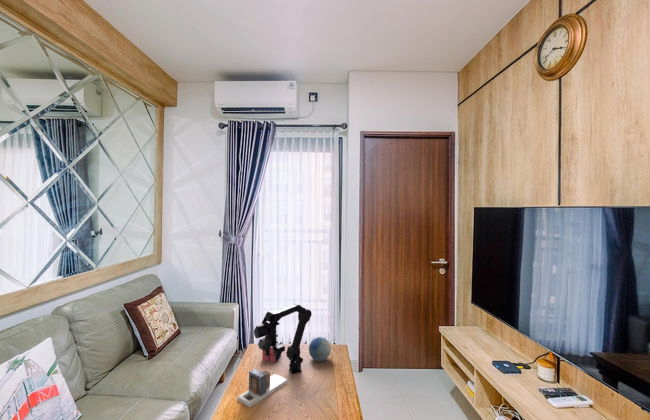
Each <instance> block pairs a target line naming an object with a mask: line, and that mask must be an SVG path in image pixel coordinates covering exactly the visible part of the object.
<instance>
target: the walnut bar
mask: <svg viewBox="0 0 650 420" xmlns="http://www.w3.org/2000/svg"><path fill="white" fill-rule="evenodd" d="M262 372H263V373H265V374H266V389H267V388H268V387H270V377H271V372H269V371H267V370H263V371H262ZM252 393H254V394H256V395H257V394H259V379H258V378H256V377H252Z"/></svg>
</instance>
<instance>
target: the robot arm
mask: <svg viewBox="0 0 650 420" xmlns="http://www.w3.org/2000/svg"><path fill="white" fill-rule="evenodd" d="M296 312H297V317H298V319H297V320H298V323H297V327H296V329H295V333H294V337H293V340H292V344H291V345H290V346H287V347H286V346H284V345H283V344H282V343H281V344H280V345H276V344H277V343H278V339H277V338H278V337H279V335H278V334H277V326H278V325H279V326H280V325H281V324H280V323H279V321H280V320H281V319H283V318H284V317H287V316H289V315H291V314H293V313H294V314H295V313H296ZM312 314H313V313H312V311H311V310H310V309H308V308H306V307H304V306H301V305H300V304H298V303H293V304H292V305H289V306H286V307H284V308H281V309H278V310H269V311H267V312H266V313H265V314H264V315H265V316H264V317H263V319H262V321H261V324H259V325H256V326H255V328H253V329H254V330H253V334H254V338H255V339H259V341H258V343H257V345H258V348H259V350H261V351H262V350H263V351H264V350H265V353H266V356H269V351H270V347H273V353H274V354H275V361H276V362H275V363H277V362H279V359H280V358H281V356H282V353H283V352H285V351H286V352H285V353H286V358H287V359H288V360H289V365H288V370H289V372H290V373H291V374H292V375H294V374H295V375H296V374H298V373H302V372H303V370H302V363H303V362H304V359H303V357H301V348H300V347H301V343H302V339H303V336H304V332H305V329H306V326H307V323H308V322H309V321H311V317H312ZM286 348H287V350H286ZM280 355H281V356H280ZM279 357H280V358H279Z"/></svg>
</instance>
